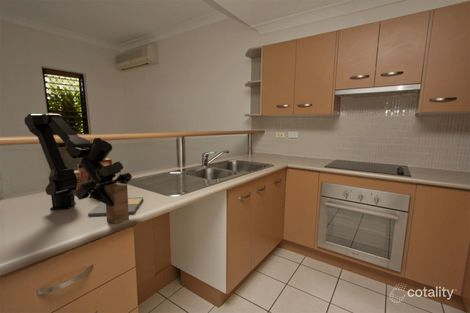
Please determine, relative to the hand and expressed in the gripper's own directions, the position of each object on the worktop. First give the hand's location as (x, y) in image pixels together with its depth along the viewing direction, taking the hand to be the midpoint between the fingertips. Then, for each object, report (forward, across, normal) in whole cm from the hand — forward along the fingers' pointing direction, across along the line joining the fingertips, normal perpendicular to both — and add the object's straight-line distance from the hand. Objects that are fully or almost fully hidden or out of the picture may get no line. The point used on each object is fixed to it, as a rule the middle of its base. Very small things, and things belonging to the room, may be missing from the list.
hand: (119, 203), depth 79 cm
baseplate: (-4, +9, +13) cm, 16 cm away
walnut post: (+4, 0, +6) cm, 7 cm away
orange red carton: (-30, +21, +40) cm, 54 cm away
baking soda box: (-22, +22, +32) cm, 45 cm away
